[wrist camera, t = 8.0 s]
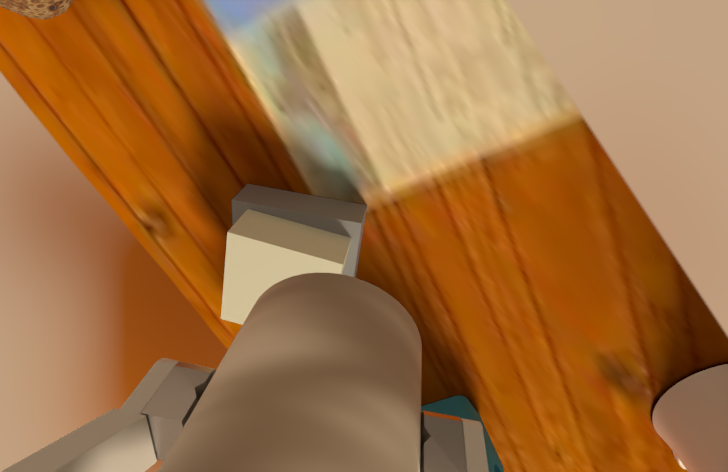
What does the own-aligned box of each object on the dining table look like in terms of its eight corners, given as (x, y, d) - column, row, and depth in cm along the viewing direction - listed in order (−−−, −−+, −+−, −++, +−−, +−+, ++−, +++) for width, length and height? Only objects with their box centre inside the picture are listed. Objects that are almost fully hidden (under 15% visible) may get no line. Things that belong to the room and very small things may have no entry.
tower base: (367, 202, 36) (361, 223, 32) (353, 297, 42) (347, 323, 38) (249, 181, 36) (231, 199, 33) (251, 277, 42) (235, 301, 39)
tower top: (351, 238, 33) (342, 264, 30) (330, 316, 38) (321, 346, 34) (247, 208, 33) (227, 231, 30) (239, 290, 38) (220, 318, 34)
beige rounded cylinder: (439, 291, 11) (451, 544, 6) (404, 416, 14) (392, 662, 9) (246, 257, 11) (93, 467, 6) (250, 385, 14) (148, 605, 9)
